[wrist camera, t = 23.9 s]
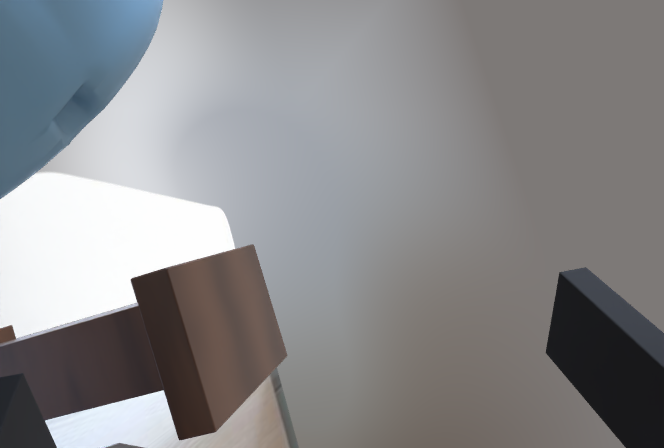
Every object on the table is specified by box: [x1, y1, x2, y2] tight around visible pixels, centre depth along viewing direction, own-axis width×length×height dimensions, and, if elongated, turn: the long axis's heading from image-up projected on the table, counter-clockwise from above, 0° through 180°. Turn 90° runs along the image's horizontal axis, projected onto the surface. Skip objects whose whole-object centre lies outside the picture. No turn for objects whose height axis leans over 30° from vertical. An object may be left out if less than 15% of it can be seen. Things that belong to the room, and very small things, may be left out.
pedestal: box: [0, 244, 287, 440], centre depth 33 cm, size 12×8×21 cm, turn 146°
